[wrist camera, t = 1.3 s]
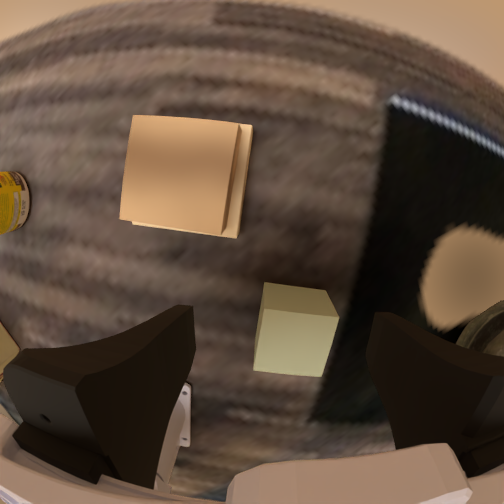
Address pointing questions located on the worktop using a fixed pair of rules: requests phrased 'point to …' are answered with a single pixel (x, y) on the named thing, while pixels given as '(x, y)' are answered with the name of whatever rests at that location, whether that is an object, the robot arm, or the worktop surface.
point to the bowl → (485, 332)
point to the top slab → (180, 172)
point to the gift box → (6, 349)
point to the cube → (294, 330)
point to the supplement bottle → (13, 201)
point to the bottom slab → (237, 189)
